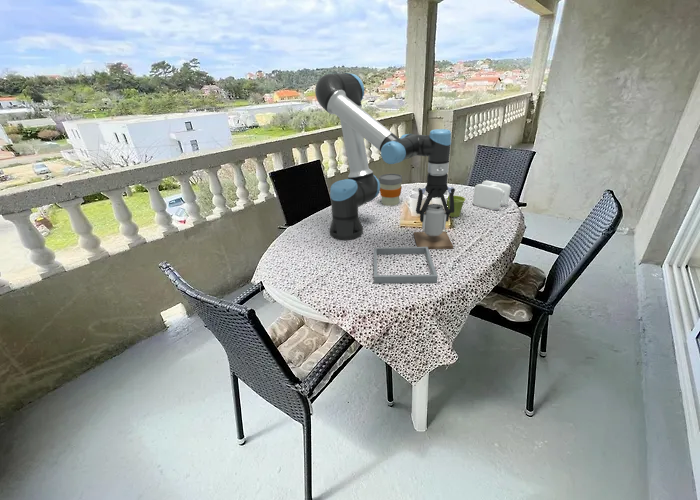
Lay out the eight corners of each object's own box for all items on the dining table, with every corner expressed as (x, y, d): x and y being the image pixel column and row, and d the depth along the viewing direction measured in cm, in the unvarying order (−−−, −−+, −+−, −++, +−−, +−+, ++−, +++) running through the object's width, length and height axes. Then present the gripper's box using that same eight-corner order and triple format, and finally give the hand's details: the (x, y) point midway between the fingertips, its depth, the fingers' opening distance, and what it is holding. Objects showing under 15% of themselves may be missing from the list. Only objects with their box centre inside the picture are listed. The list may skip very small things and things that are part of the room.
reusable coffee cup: (405, 201, 176) (406, 174, 169) (395, 208, 167) (396, 180, 160) (385, 198, 182) (385, 172, 175) (375, 205, 173) (374, 178, 166)
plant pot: (448, 210, 160) (449, 194, 156) (466, 214, 155) (468, 197, 151) (440, 216, 154) (441, 199, 150) (458, 220, 149) (460, 203, 145)
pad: (417, 249, 126) (417, 246, 125) (413, 234, 138) (413, 232, 137) (452, 248, 125) (453, 246, 124) (445, 233, 137) (445, 231, 136)
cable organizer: (470, 204, 166) (473, 183, 160) (481, 199, 172) (484, 179, 166) (497, 211, 155) (501, 189, 150) (508, 206, 161) (512, 184, 156)
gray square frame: (374, 283, 106) (374, 276, 105) (374, 253, 125) (373, 247, 124) (437, 282, 105) (437, 276, 104) (427, 252, 123) (427, 246, 122)
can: (443, 237, 125) (445, 209, 120) (423, 236, 127) (425, 209, 121) (441, 229, 132) (444, 202, 126) (423, 229, 133) (425, 202, 128)
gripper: (411, 177, 115) (409, 233, 126) (467, 174, 114) (460, 231, 124) (409, 171, 122) (407, 225, 133) (462, 169, 120) (456, 224, 131)
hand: (433, 228), depth 128 cm, fingers closed on can, 7 cm apart
